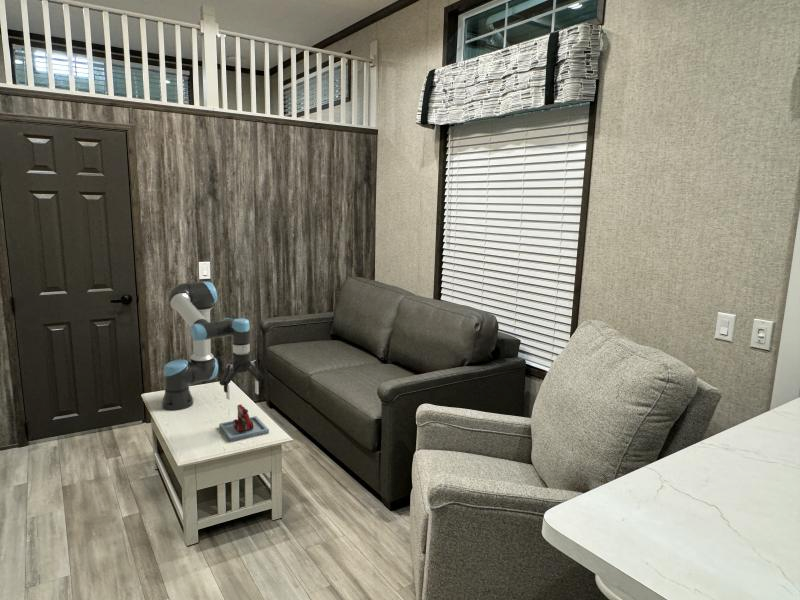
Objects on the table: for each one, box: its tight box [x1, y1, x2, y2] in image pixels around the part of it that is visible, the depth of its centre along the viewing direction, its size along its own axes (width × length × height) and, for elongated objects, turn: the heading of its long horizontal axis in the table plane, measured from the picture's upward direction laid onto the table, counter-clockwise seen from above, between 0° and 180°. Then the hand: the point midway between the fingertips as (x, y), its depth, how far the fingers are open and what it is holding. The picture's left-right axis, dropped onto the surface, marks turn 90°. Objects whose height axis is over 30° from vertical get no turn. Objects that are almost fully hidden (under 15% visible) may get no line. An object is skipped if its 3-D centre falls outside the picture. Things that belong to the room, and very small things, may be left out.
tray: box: [218, 415, 270, 443], centre depth 253 cm, size 18×18×2 cm
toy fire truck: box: [232, 404, 254, 432], centre depth 252 cm, size 7×12×10 cm, turn 36°
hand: (242, 396), depth 250 cm, fingers open, 13 cm apart
